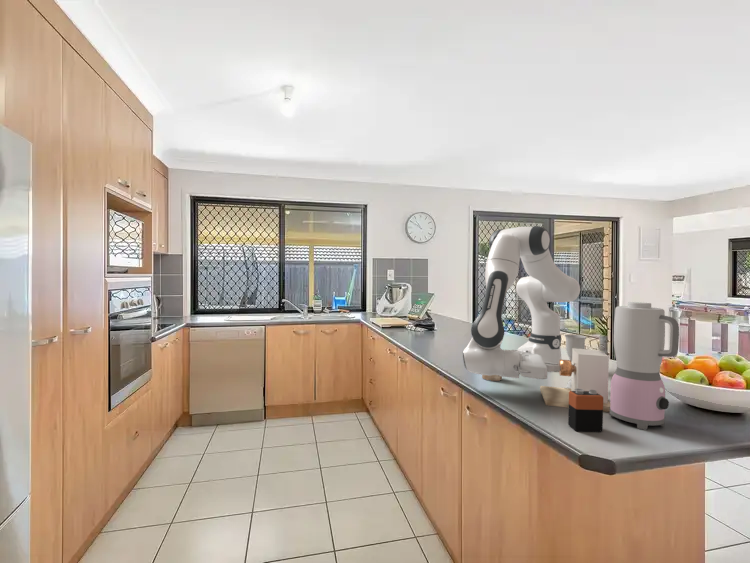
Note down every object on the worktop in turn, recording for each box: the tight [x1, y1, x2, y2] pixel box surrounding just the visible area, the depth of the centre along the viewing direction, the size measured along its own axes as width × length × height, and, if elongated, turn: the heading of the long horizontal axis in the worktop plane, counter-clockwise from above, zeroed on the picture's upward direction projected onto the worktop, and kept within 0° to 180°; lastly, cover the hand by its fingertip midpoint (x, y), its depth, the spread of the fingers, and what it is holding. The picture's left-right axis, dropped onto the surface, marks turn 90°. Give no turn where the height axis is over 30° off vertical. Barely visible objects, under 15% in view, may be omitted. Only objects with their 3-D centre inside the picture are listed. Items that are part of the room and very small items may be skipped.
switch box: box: [570, 348, 610, 404], centre depth 119 cm, size 8×10×14 cm
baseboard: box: [539, 385, 610, 413], centre depth 120 cm, size 18×16×2 cm
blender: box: [609, 301, 680, 430], centre depth 102 cm, size 16×12×32 cm
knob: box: [558, 359, 576, 377], centre depth 120 cm, size 9×5×5 cm, turn 72°
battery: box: [567, 389, 604, 433], centre depth 98 cm, size 4×7×10 cm, turn 89°
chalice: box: [564, 334, 587, 389], centre depth 135 cm, size 7×7×18 cm
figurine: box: [481, 375, 503, 382], centre depth 144 cm, size 7×7×12 cm
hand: (559, 367), depth 121 cm, fingers closed, pressing on knob
